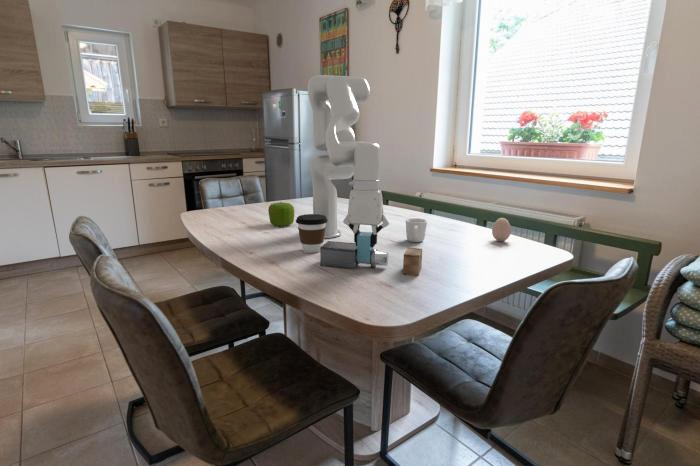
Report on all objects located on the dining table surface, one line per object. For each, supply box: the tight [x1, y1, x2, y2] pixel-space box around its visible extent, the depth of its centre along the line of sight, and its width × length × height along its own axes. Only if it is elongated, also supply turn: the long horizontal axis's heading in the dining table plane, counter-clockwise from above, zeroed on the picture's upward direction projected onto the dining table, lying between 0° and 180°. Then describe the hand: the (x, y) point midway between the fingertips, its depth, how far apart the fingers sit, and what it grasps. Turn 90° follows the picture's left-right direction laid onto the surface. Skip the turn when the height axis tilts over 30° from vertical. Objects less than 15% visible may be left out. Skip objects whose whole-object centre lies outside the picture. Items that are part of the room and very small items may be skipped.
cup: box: [405, 217, 428, 243], centre depth 150 cm, size 11×8×8 cm
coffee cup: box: [295, 213, 328, 254], centre depth 138 cm, size 11×11×12 cm
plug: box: [356, 231, 389, 268], centre depth 123 cm, size 19×6×10 cm, turn 74°
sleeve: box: [319, 240, 361, 270], centre depth 125 cm, size 11×8×6 cm
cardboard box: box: [402, 247, 423, 277], centre depth 119 cm, size 4×8×6 cm, turn 164°
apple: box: [267, 201, 295, 228], centre depth 175 cm, size 11×11×11 cm
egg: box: [491, 217, 512, 243], centre depth 151 cm, size 7×7×9 cm
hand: (365, 245), depth 122 cm, fingers closed on plug, 4 cm apart
